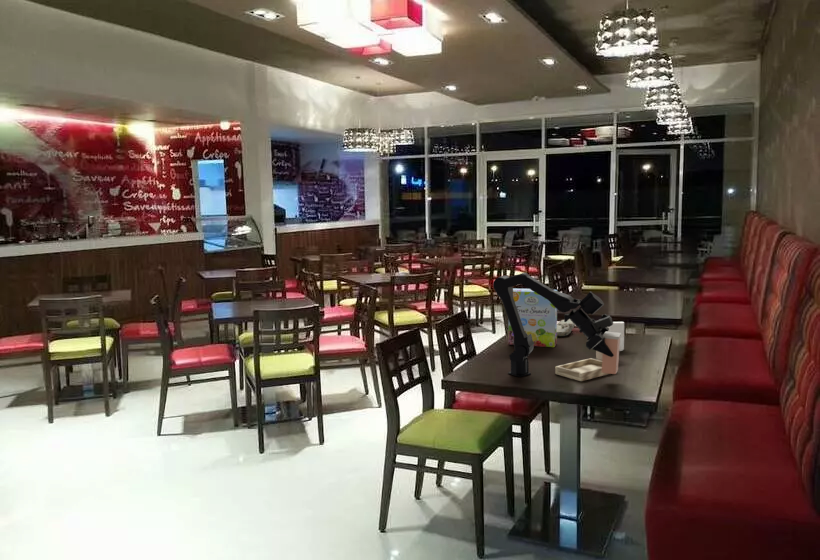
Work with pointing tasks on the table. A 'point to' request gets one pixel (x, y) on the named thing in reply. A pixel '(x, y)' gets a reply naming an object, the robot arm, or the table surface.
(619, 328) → the base with upright slab
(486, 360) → the table surface
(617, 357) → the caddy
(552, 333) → the snack box
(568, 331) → the elongated rock
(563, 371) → the tray
